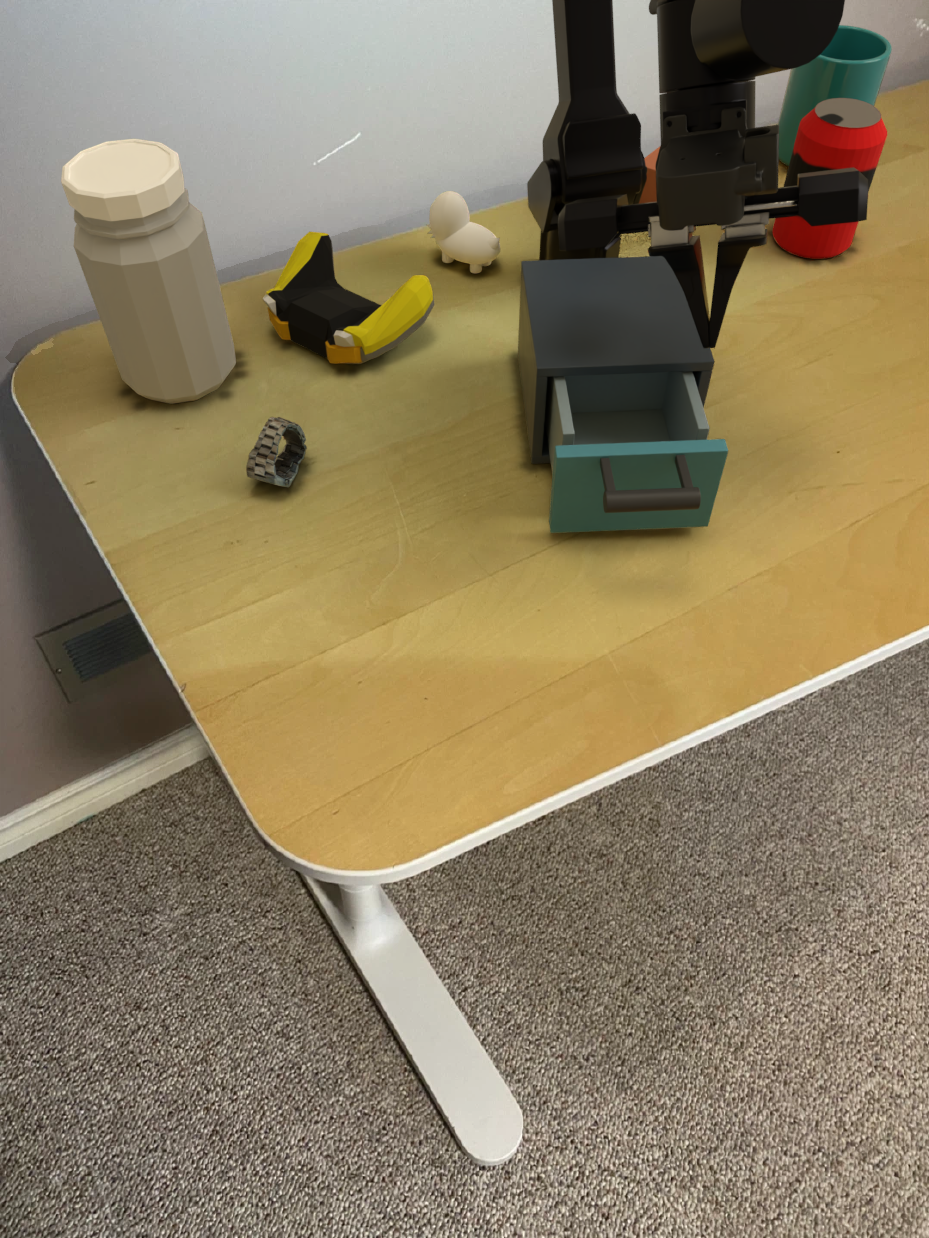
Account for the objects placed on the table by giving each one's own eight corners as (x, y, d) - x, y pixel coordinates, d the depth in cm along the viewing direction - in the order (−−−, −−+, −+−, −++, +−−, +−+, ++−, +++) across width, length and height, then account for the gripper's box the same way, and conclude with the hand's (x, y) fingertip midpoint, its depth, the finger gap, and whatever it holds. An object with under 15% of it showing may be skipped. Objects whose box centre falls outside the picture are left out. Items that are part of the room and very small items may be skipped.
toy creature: (444, 237, 95) (442, 175, 90) (512, 262, 92) (514, 199, 87) (416, 259, 92) (413, 196, 88) (486, 285, 90) (486, 222, 85)
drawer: (721, 574, 66) (744, 496, 60) (556, 581, 66) (564, 503, 60) (676, 413, 77) (693, 333, 71) (534, 419, 77) (539, 339, 71)
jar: (179, 325, 86) (120, 121, 72) (263, 361, 83) (218, 154, 69) (99, 384, 81) (19, 177, 67) (184, 425, 78) (119, 215, 64)
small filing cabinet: (692, 458, 75) (715, 361, 68) (531, 464, 75) (536, 368, 67) (662, 350, 83) (679, 254, 76) (517, 356, 83) (521, 260, 76)
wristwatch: (269, 481, 76) (239, 475, 71) (294, 420, 75) (265, 410, 70) (302, 497, 75) (273, 492, 70) (327, 436, 74) (300, 426, 70)
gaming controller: (320, 275, 91) (245, 326, 86) (312, 220, 87) (232, 270, 82) (445, 331, 85) (372, 389, 80) (443, 276, 81) (366, 333, 76)
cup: (876, 137, 106) (912, 25, 97) (840, 185, 100) (875, 70, 91) (798, 118, 109) (826, 8, 100) (758, 163, 103) (784, 49, 94)
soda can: (754, 235, 94) (785, 109, 85) (807, 210, 97) (842, 85, 88) (814, 270, 91) (853, 142, 81) (867, 243, 93) (911, 116, 84)
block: (630, 207, 98) (636, 164, 94) (653, 189, 100) (659, 146, 96) (669, 221, 96) (676, 177, 93) (691, 202, 98) (699, 159, 95)
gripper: (529, 109, 55) (551, 383, 61) (884, 56, 49) (866, 364, 56) (566, 110, 64) (582, 347, 71) (867, 66, 59) (853, 328, 65)
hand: (709, 347), depth 65 cm, fingers closed
